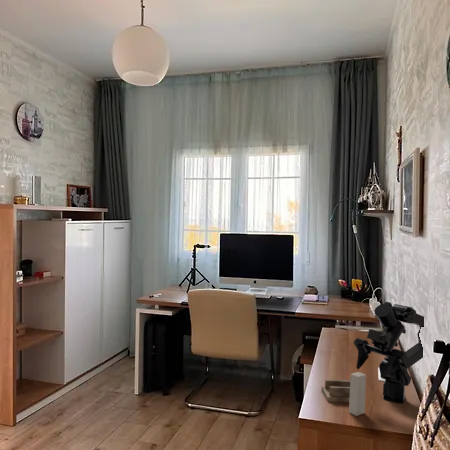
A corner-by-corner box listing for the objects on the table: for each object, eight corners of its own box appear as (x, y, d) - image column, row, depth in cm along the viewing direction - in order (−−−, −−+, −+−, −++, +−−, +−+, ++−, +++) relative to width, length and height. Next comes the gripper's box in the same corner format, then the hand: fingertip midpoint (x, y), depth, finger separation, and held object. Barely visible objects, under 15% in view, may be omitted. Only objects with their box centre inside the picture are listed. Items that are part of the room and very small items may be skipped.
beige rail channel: (351, 391, 156) (352, 379, 156) (359, 402, 147) (360, 389, 147) (321, 390, 156) (321, 378, 156) (327, 401, 147) (328, 388, 147)
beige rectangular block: (356, 409, 141) (358, 371, 141) (364, 413, 139) (366, 374, 139) (348, 412, 139) (350, 373, 139) (356, 416, 137) (358, 377, 136)
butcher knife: (390, 371, 181) (391, 368, 181) (392, 384, 166) (392, 381, 166) (378, 369, 182) (378, 366, 182) (378, 381, 168) (378, 378, 168)
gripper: (357, 314, 152) (335, 350, 146) (406, 327, 137) (384, 367, 131) (370, 334, 157) (349, 369, 151) (418, 347, 142) (398, 387, 136)
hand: (368, 372), depth 142 cm, fingers open, 9 cm apart
